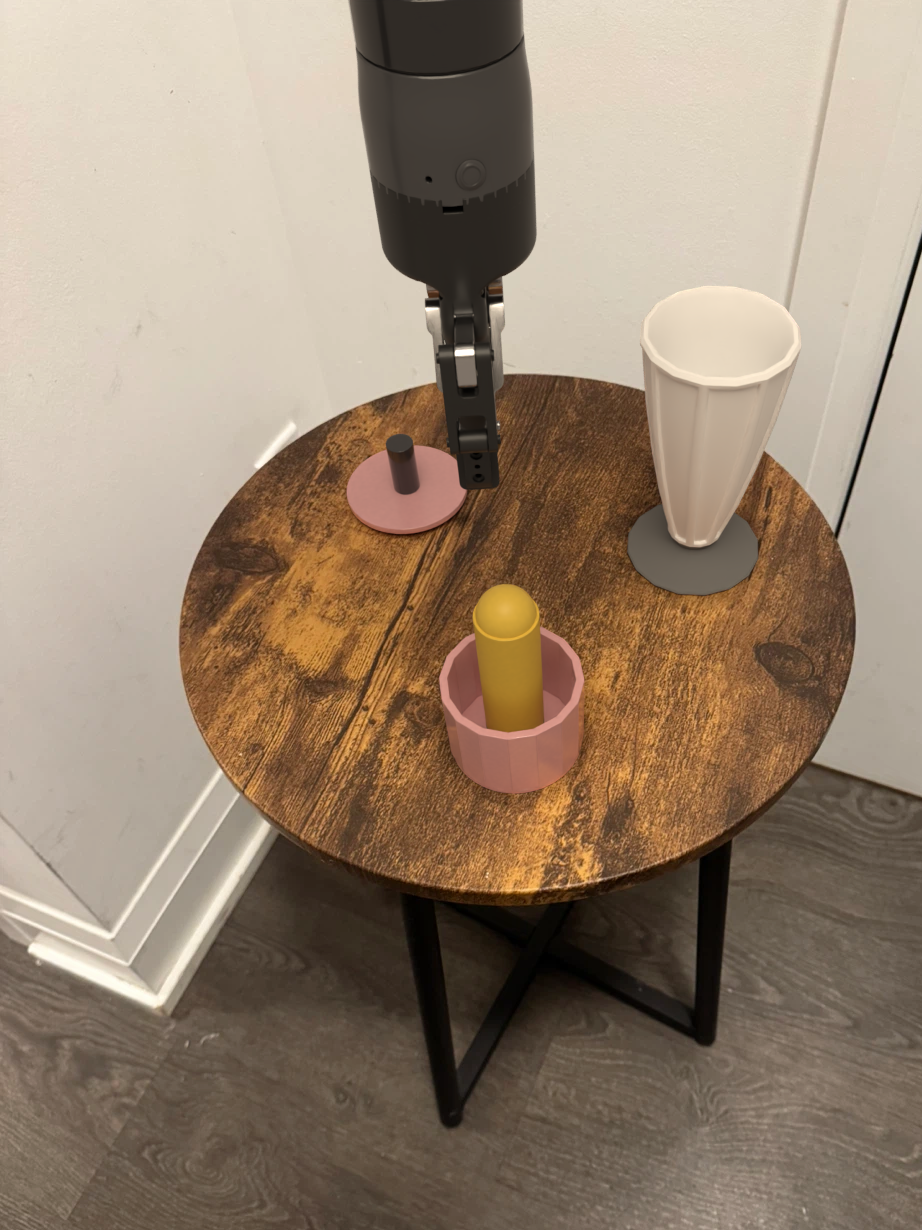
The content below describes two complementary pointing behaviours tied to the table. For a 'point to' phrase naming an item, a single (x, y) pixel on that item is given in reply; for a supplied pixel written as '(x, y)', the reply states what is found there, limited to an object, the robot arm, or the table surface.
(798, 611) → the table surface
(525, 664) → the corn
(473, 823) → the table surface
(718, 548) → the cup
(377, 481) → the lid
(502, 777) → the pot
